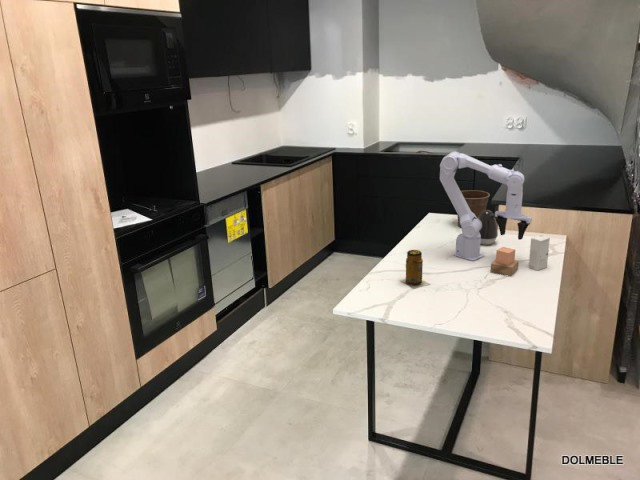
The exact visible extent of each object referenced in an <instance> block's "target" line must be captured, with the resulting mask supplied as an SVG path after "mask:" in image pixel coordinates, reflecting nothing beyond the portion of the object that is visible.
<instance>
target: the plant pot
mask: <svg viewBox="0 0 640 480" xmlns="http://www.w3.org/2000/svg"><path fill="white" fill-rule="evenodd" d="M460 191H461V193H462V195H463V197H464V199H465V201H466V202H467V204H468V206H469V208H470V210H471V212H473V213H474V214H475V216H476V217H477V218H478V217H479V215H480V213H481V212H482V211H484V210H487V206H488V202H489V197H490V196H491V195H490V193H489V192H487V191H484V190H475V189H474V190H472V189H470V190H469V189H468V190H460ZM456 215H457V226H458V227H459V228H462V227H461V225H460V217H459V216H458V214H456Z"/></svg>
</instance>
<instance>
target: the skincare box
mask: <svg viewBox="0 0 640 480" xmlns="http://www.w3.org/2000/svg"><path fill="white" fill-rule="evenodd" d="M550 240H551V239H550V237H549V236H544V235H537V236H534V237H531V238H530V249H529V256H528V257H529V259H528V269H531V270H534V271H540V270H543V269H545V268H547V267H548V261H549V249H550Z"/></svg>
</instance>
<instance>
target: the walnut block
mask: <svg viewBox="0 0 640 480" xmlns="http://www.w3.org/2000/svg"><path fill="white" fill-rule="evenodd" d="M519 263H520V262H519V260H517V259H515V260H514V262H513V263H511V264H510V265H504V264H500V263H496V258H495V259H494V260H493V261H492V262H491V263H490V271H489V273H492V274H496V275H500V274H501V276H505V275H508V276H507V277H511V276H512V275H513V274H514V275H515V274H516V272H517V271H518V270H519ZM514 275H513V276H514ZM513 276H512V277H513Z"/></svg>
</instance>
